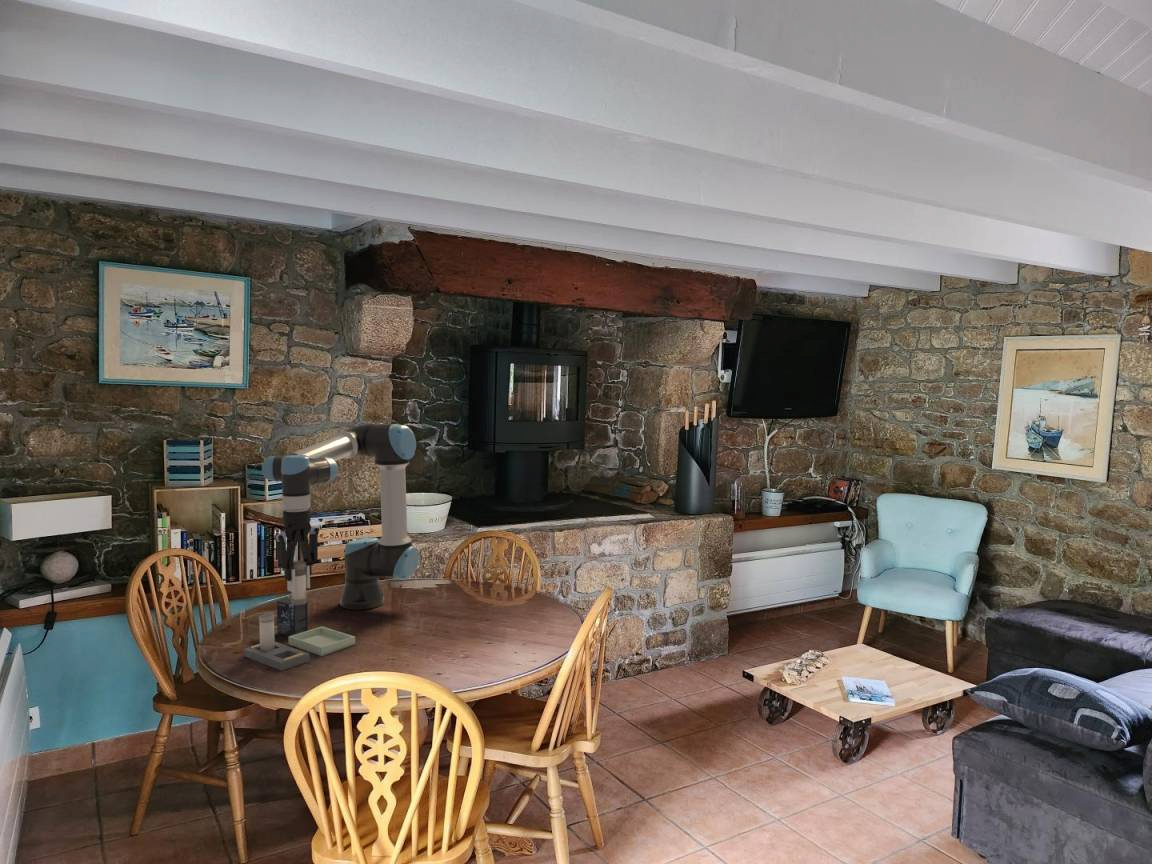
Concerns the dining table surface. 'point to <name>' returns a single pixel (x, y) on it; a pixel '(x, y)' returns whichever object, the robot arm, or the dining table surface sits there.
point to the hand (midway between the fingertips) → (298, 588)
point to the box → (291, 617)
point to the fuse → (267, 632)
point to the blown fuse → (299, 583)
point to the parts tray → (321, 641)
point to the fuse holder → (278, 656)
